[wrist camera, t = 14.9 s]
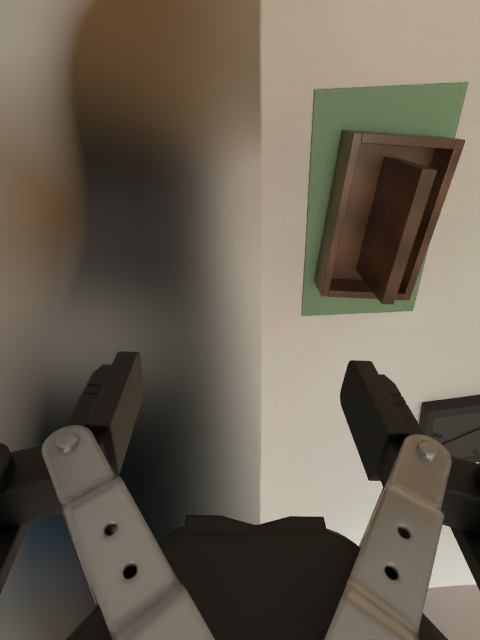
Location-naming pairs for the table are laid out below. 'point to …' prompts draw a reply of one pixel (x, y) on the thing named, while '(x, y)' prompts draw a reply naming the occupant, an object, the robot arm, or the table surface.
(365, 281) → the cutlery caddy
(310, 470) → the table surface
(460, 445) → the picture frame
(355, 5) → the table surface
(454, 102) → the mat
